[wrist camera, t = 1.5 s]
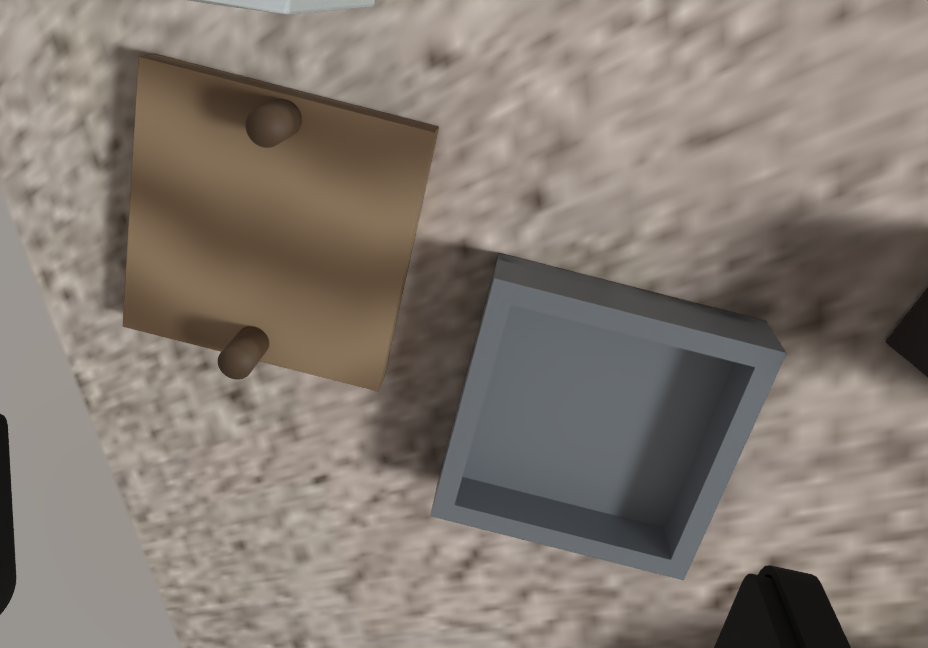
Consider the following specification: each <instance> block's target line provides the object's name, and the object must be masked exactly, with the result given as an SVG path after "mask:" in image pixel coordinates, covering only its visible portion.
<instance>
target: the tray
mask: <svg viewBox="0 0 928 648" xmlns="http://www.w3.org/2000/svg"><path fill="white" fill-rule="evenodd" d="M785 355H786V351H785V350H784V348H783V347H782V345H781V344H780V342H779V340H778V339H777V337H776V336H775V334H774V333H773V331H772V330H771V328H770V326H769V325H768V323H767V322H766V321H764V320H760V319H756V318H752V317H748V316H744V315H740V314H736V313H732V312H728V311H725V310H721V309H717V308H713V307H709V306H705V305H701V304H697V303H693V302H689V301H685V300H681V299H678V298H674V297H670V296H666V295H662V294H658V293H654V292H650V291H646V290H642V289H638V288H635V287H631V286H627V285H623V284H619V283H615V282H611V281H607V280H603V279H599V278H595V277H592V276H588V275H584V274H580V273H576V272H572V271H568V270H564V269H560V268H556V267H552V266H548V265H545V264H541V263H537V262H533V261H529V260H525V259H521V258H517V257H513V256H509V255H505V254H502V253H498V257H497V261H496V265H495V268H494V272H493V276H492V280H491V283H490V287H489V291H488V295H487V298H486V302H485V306H484V310H483V313H482V317H481V321H480V325H479V328H478V332H477V336H476V340H475V343H474V347H473V351H472V355H471V358H470V362H469V366H468V369H467V373H466V377H465V381H464V384H463V388H462V392H461V396H460V399H459V403H458V407H457V411H456V414H455V418H454V422H453V426H452V429H451V433H450V437H449V441H448V444H447V448H446V452H445V456H444V459H443V463H442V467H441V471H440V474H439V479H438V483H437V488H436V492H435V497H434V502H433V506H432V511H431V515H430V516H432V517H436V518H440V519H444V520H448V521H452V522H456V523H460V524H464V525H468V526H471V527H475V528H479V529H483V530H487V531H491V532H495V533H499V534H503V535H507V536H511V537H515V538H519V539H523V540H527V541H531V542H535V543H539V544H543V545H546V546H550V547H554V548H558V549H562V550H566V551H570V552H574V553H578V554H582V555H586V556H590V557H594V558H598V559H602V560H606V561H610V562H614V563H617V564H621V565H625V566H629V567H633V568H637V569H641V570H645V571H649V572H653V573H657V574H661V575H665V576H669V577H673V578H677V579H681V580H684V578H685V576H686V574H687V572H688V570H689V567H690V565H691V563H692V561H693V559H694V556H695V554H696V552H697V550H698V548H699V545H700V543H701V541H702V539H703V537H704V534H705V532H706V530H707V528H708V525H709V523H710V521H711V519H712V517H713V514H714V512H715V510H716V508H717V506H718V503H719V501H720V499H721V497H722V495H723V492H724V490H725V488H726V486H727V484H728V481H729V479H730V477H731V475H732V472H733V470H734V468H735V466H736V464H737V461H738V459H739V457H740V455H741V453H742V450H743V448H744V446H745V444H746V442H747V439H748V437H749V435H750V433H751V431H752V428H753V426H754V424H755V422H756V419H757V417H758V415H759V413H760V411H761V408H762V406H763V404H764V402H765V400H766V397H767V395H768V393H769V391H770V389H771V386H772V384H773V382H774V380H775V378H776V375H777V373H778V371H779V369H780V367H781V364H782V362H783V360H784V358H785Z"/></svg>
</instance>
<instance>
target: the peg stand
mask: <svg viewBox="0 0 928 648" xmlns="http://www.w3.org/2000/svg"><path fill="white" fill-rule="evenodd" d="M438 129H439V127H438V126H434V125H430V124H426V123H423V122H419V121H415V120H411V119H407V118H403V117H399V116H395V115H391V114H387V113H384V112H380V111H376V110H372V109H368V108H364V107H360V106H356V105H352V104H349V103H345V102H341V101H337V100H333V99H329V98H325V97H321V96H317V95H313V94H310V93H306V92H302V91H298V90H294V89H290V88H286V87H282V86H278V85H274V84H271V83H267V82H263V81H259V80H255V79H251V78H247V77H243V76H239V75H235V74H232V73H228V72H224V71H220V70H216V69H212V68H208V67H204V66H200V65H196V64H193V63H189V62H185V61H181V60H177V59H173V58H169V57H165V56H161V55H157V54H151V55H145V56H140V57H139V61H138V78H137V94H136V111H135V128H134V145H133V161H132V178H131V195H130V212H129V228H128V245H127V262H126V279H125V295H124V312H123V327H127V328H131V329H135V330H139V331H142V332H146V333H150V334H154V335H158V336H162V337H166V338H170V339H174V340H178V341H182V342H186V343H190V344H194V345H198V346H201V347H205V348H209V349H213V350H217V351H221V353H220V355H219V357H218V366H219V368H220V370H221V371H222V373H223V374H224V375H226V376H227V377H229V378H232V379H243V378H245V377H247V376H248V375H249V374H250V372H251V371H252V370H253V368H254V367H255V366H256V364H257V363H258V362H259V361H260V362H264V363H268V364H272V365H276V366H280V367H284V368H288V369H292V370H296V371H300V372H304V373H308V374H312V375H316V376H319V377H323V378H327V379H331V380H335V381H339V382H343V383H347V384H351V385H355V386H359V387H363V388H367V389H371V390H374V391H378V392H379V389H380V387H381V384H382V382H383V380H384V377H385V372H386V367H387V363H388V358H389V354H390V349H391V345H392V340H393V335H394V331H395V326H396V322H397V317H398V313H399V308H400V303H401V299H402V294H403V290H404V285H405V280H406V276H407V271H408V267H409V262H410V258H411V253H412V248H413V244H414V239H415V235H416V230H417V226H418V221H419V216H420V212H421V207H422V203H423V198H424V193H425V189H426V184H427V180H428V175H429V171H430V166H431V161H432V157H433V152H434V148H435V143H436V139H437V134H438Z"/></svg>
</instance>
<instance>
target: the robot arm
mask: <svg viewBox="0 0 928 648" xmlns="http://www.w3.org/2000/svg"><path fill="white" fill-rule="evenodd" d="M15 585H16V564H15V546H14V528H13V512H12V493H11V474H10V457H9V438H8V424H7V420H6V418H5V416H4V415H1V414H0V614H1V613H2V612H3V611H4V609H5V608H6V607H7V605H8V604H9V602H10V600H11V598H12V595H13V593H14V589H15ZM714 648H851V647H850V645H849V643H848V640H847V638H846V636H845V634H844V632H843V630H842V627H841V625H840V623H839V621H838V619H837V617H836V615H835V612H834V610H833V608H832V606H831V604H830V602H829V599H828V597H827V595H826V593H825V591H824V589H823V587H822V584H821V583H820V581H819V580H818V578H817V577H816V576H814V575H812V574H808V573H803V572H798V571H794V570H789V569H784V568H780V567H775V566H770V565H769V566H765V567H764V568H763V569H761V570H760V572H759V574H758V575H755V574H748V575H747V576H746V577H745V578H744V580H743V582H742V584H741V586H740V588H739V591H738V593H737V595H736V598H735V600H734V602H733V605H732V607H731V609H730V612H729V614H728V616H727V619H726V621H725V623H724V626H723V628H722V630H721V633H720V635H719V637H718V640H717V642H716V644H715V647H714Z"/></svg>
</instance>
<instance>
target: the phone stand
mask: <svg viewBox="0 0 928 648" xmlns="http://www.w3.org/2000/svg"><path fill="white" fill-rule="evenodd" d="M886 343H887V344H888V345H889V346H891V347H892V348H893V349H894V350H895V351H897V352H898V353H899V354H900V355H902V356H903V357H904V358H905V359H906V360H908V361H909V362H910V363H911V364H913V365H914V366H915V367H916V368H917V369H919V370H920V371H921V372H922V373H924V374H925V375H926V376H927V377H928V289H927V290H926V292H925V293H924V294H923V295H922V297H921V298H920V299H919V301H918V302H917V303H916V304H915V306H914V307H913V308H912V309H911V311H910V312H909V313H908V315H907V316H906V317H905V318H904V320H903V321H902V322H901V323H900V325H899V326H898V327H897V328H896V330H895V331H894V332H893V334H892V335H891V336H890V337H889V339H888V340H887V341H886Z"/></svg>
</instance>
